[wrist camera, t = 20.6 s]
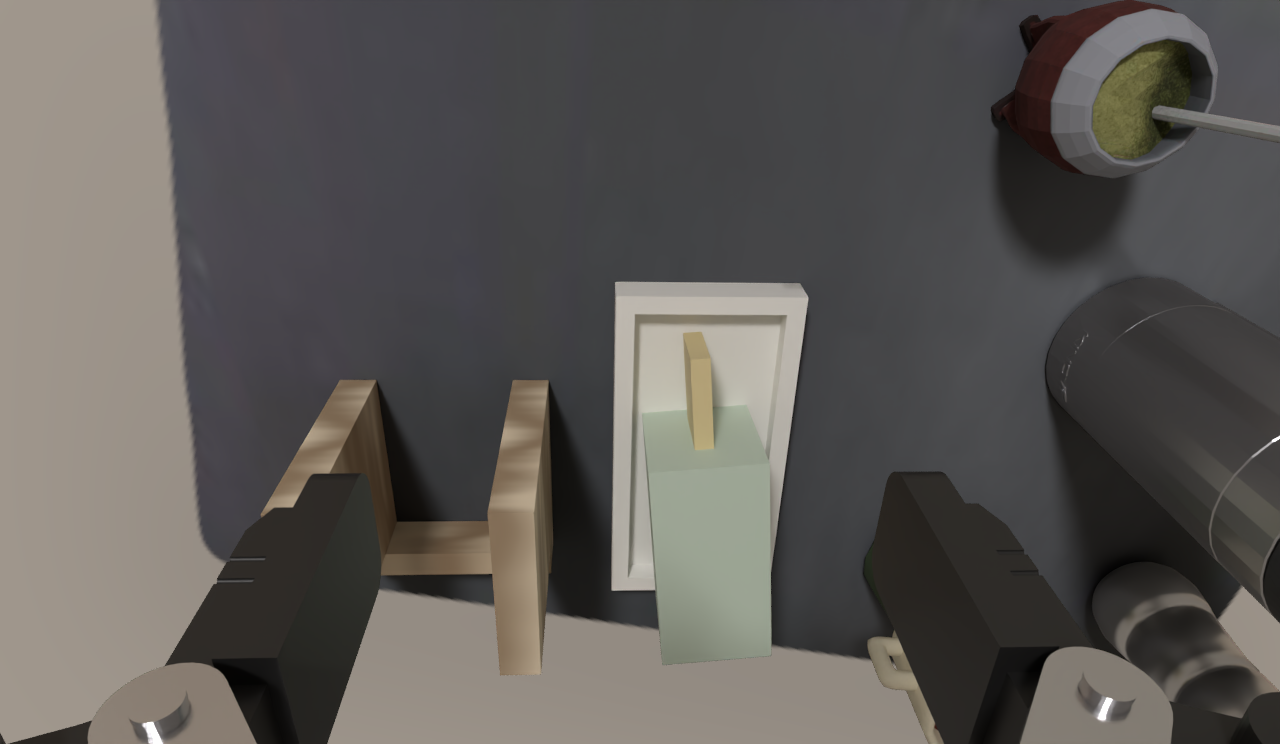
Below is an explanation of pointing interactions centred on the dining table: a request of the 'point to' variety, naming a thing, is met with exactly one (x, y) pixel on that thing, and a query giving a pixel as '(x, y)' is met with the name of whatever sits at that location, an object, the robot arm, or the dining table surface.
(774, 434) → the tray
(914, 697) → the character mug
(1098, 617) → the plastic bottle
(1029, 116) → the mate gourd
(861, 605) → the dining table surface
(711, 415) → the green block with tab
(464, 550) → the bay
